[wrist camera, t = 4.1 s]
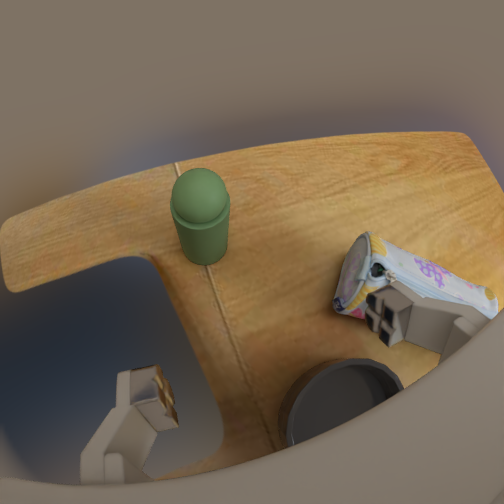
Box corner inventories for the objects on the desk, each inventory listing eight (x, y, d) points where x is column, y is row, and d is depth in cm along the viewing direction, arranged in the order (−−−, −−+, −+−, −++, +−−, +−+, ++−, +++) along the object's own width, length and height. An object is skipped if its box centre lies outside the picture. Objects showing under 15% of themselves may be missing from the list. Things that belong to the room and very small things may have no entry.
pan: (313, 488, 22) (325, 502, 19) (254, 402, 26) (259, 409, 22) (403, 421, 26) (422, 426, 22) (356, 336, 29) (374, 332, 26)
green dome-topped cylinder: (194, 273, 30) (179, 220, 19) (175, 235, 31) (154, 169, 20) (235, 252, 31) (244, 192, 20) (214, 216, 33) (213, 145, 21)
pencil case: (317, 315, 30) (356, 296, 21) (336, 245, 33) (373, 207, 24) (450, 357, 29) (502, 349, 20) (458, 298, 32) (505, 279, 24)
